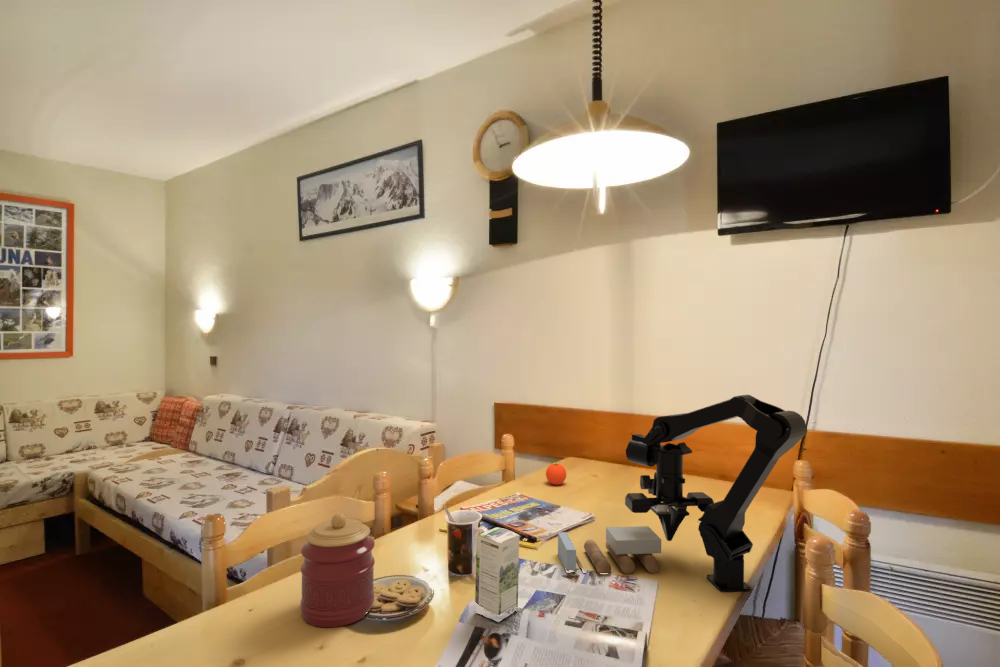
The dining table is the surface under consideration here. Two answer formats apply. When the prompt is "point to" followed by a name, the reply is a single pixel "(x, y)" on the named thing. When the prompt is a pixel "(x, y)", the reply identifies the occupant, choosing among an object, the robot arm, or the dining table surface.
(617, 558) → the roller track
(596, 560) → the roller
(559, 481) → the clementine
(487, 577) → the syrup box
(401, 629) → the dining table surface
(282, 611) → the dining table surface
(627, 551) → the slab
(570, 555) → the bar
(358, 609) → the canister
